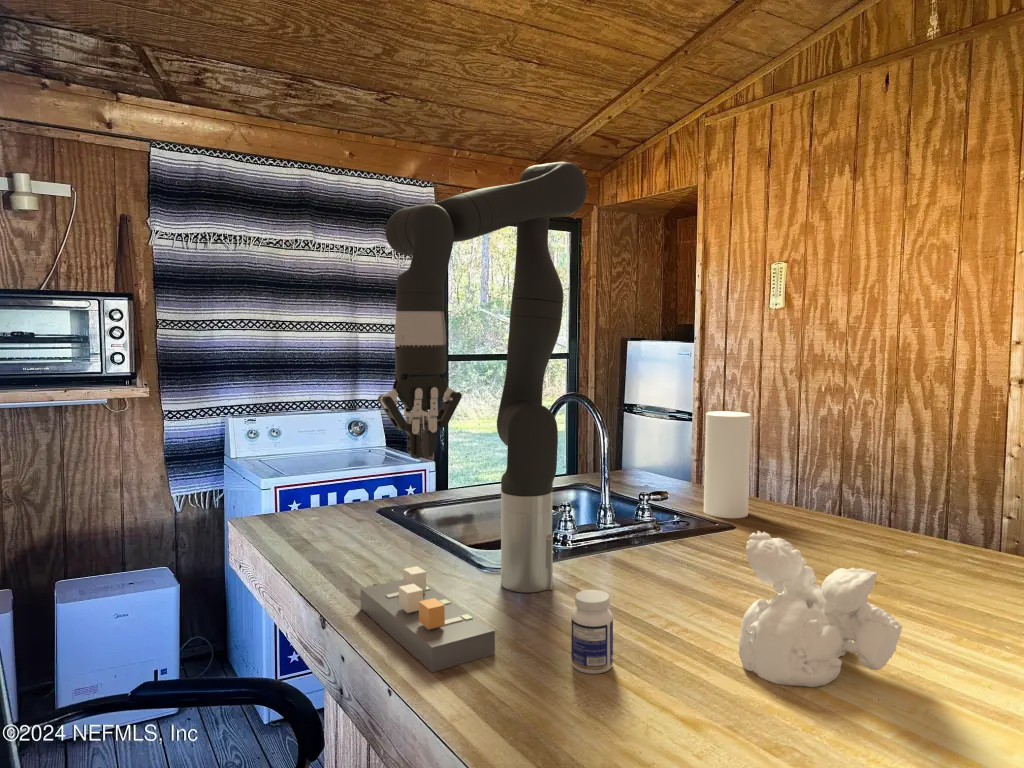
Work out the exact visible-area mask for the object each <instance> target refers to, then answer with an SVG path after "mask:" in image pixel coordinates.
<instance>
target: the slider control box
mask: <svg viewBox="0 0 1024 768" xmlns="http://www.w3.org/2000/svg"><path fill="white" fill-rule="evenodd" d="M400 586H404V578H403V579H400V580H394V581H391V582H384V583H380V584H378V583H374V584H372V585H370V586H366V587H361V588H360V591H359V592H360V610H361V609H362V610H363V611H362V610H361V611H362V612H363V613H365V612H366V613H367V614H368V615H369V616H370V617H371V618H372V619H371V618H370V617H369V616H368V615H367V614H366V613H365V614H366V615H367V616H368V617H369V618H370V619H371V620H372V621H374V622H375V621H376V622H375V623H376V624H377V623H378V624H379V625H380V626H381V627H380V626H379V627H380V628H381V629H383V631H384V632H386V633H387V634H388V635H389V636H390V637H392V638H393V640H394V641H396V642H397V643H399V645H401V646H402V647H403V648H404V649H405V650H406V651H408V652H409V653H410V654H411V656H413V657H414V658H415V659H417V661H419V662H420V663H421V664H422V665H423V666H424V667H425V668H426V669H428V670H429V671H430V672H431V673H435V672H438V671H441V670H446V669H449V668H451V667H455V666H458V665H462V664H465V663H469V662H473V661H476V660H477V661H478V660H480V659H483V658H486V657H489V656H493V655H495V654H496V630H495V629H494V628H492V627H491V626H489V625H488V624H486V623H484V621H481V620H480V619H479V618H477V617H475V616H474V615H473V614H472V613H469V611H467V610H465V609H463V608H462V607H461V606H459V605H458V604H457V603H456V602H453V601H452V600H450V599H449V598H448V597H446V596H445V595H443V594H442V593H440V592H438V591H437V590H436V589H434V588H433V587H432V586H430V585H428V584H427V583H426V590H423V600H427V599H432V598H435V599H437V600H438V601H439V602H441V603H442V604H444V605H445V625H444V626H440V627H436V628H432V629H428V628H427V627H425V626H424V625H423V624H421V623H420V622H419V610H418V611H413V612H409V613H408V612H406V611H405V610H404V609H402V608H401V607H400V606H399V587H400ZM378 624H377V625H378Z"/></svg>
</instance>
